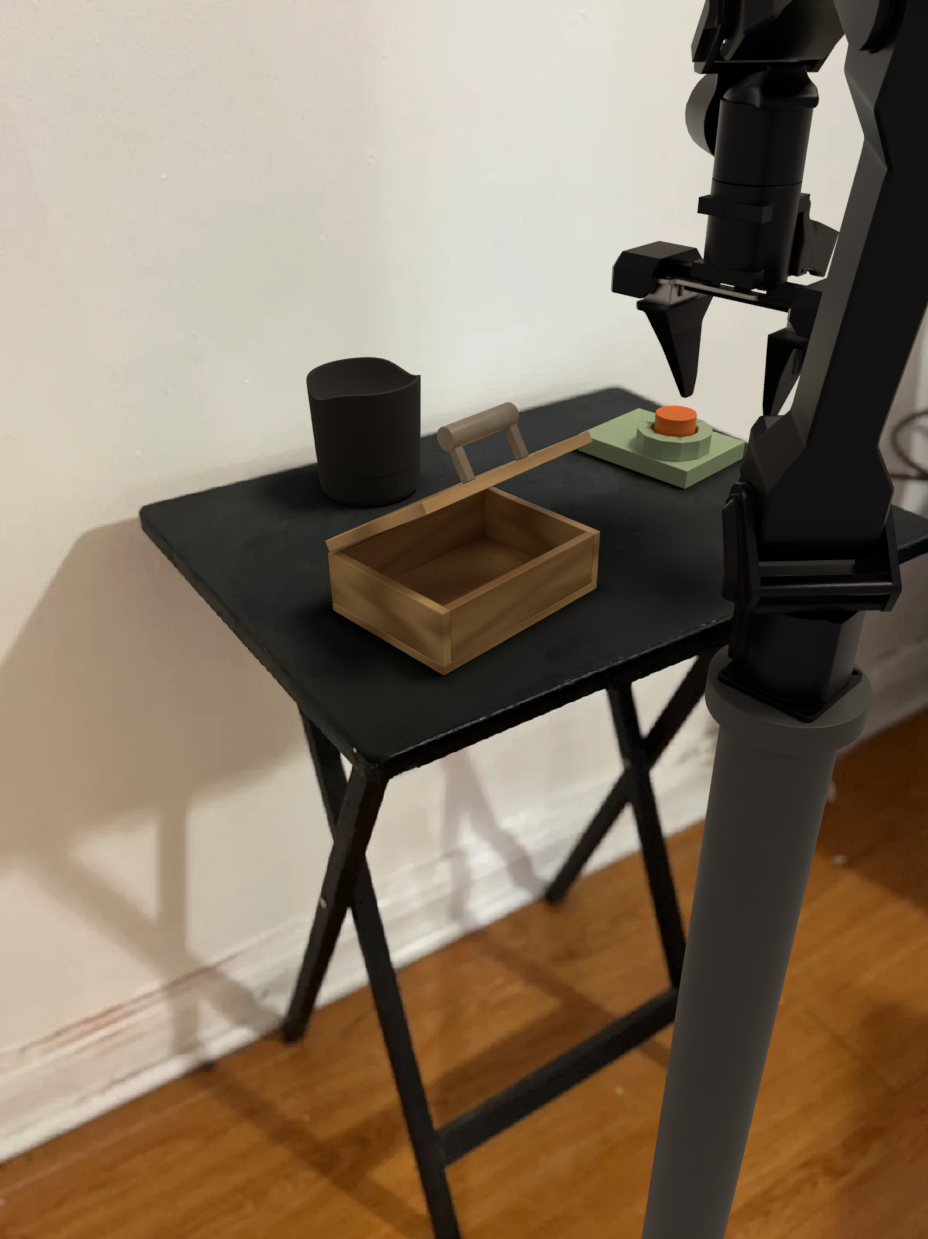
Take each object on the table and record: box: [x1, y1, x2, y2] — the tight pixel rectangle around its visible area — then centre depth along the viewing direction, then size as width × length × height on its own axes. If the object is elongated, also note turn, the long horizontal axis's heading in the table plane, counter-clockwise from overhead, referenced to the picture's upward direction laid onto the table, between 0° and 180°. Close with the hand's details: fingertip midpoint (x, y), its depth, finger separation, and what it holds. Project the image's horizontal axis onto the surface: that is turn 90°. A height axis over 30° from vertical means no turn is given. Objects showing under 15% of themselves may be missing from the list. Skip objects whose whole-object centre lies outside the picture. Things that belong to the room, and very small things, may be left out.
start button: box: [654, 405, 698, 437], centre depth 92 cm, size 4×4×2 cm
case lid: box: [324, 401, 593, 552], centre depth 71 cm, size 12×15×5 cm
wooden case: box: [327, 486, 601, 676], centre depth 74 cm, size 11×15×5 cm
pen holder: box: [305, 356, 422, 507], centre depth 89 cm, size 9×9×10 cm
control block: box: [578, 407, 746, 490], centre depth 95 cm, size 12×9×4 cm
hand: (727, 408), depth 76 cm, fingers open, 7 cm apart
